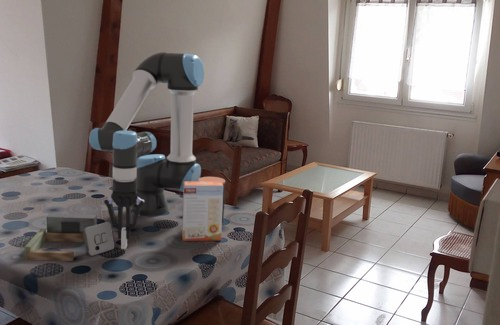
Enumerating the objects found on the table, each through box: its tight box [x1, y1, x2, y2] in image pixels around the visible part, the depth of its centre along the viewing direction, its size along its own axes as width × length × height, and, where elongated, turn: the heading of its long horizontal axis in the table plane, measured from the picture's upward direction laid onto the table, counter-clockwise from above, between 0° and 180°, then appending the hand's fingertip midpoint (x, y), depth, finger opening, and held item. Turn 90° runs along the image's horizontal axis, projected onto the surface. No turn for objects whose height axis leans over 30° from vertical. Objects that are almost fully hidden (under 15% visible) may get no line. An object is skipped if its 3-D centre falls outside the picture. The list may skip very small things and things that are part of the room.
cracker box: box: [181, 181, 223, 242], centre depth 185 cm, size 14×6×21 cm, turn 100°
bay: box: [24, 228, 85, 262], centre depth 169 cm, size 15×17×4 cm
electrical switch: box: [83, 221, 115, 256], centre depth 170 cm, size 9×5×9 cm, turn 141°
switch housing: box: [46, 212, 98, 234], centre depth 179 cm, size 16×5×8 cm, turn 95°
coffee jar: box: [198, 176, 226, 225], centre depth 200 cm, size 11×11×18 cm
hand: (124, 247), depth 171 cm, fingers closed
